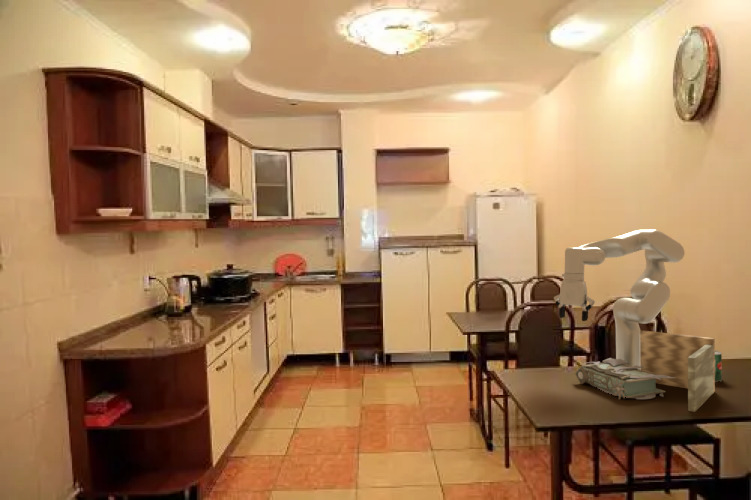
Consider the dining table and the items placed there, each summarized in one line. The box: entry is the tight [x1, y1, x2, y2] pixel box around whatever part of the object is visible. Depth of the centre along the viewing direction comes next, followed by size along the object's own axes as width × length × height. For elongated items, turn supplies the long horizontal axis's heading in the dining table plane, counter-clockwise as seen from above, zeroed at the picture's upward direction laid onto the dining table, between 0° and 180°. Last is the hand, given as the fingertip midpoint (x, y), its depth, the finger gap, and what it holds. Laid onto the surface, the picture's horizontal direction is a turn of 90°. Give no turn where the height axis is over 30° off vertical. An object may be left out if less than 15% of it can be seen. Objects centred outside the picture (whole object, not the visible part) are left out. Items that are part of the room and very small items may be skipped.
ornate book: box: [574, 357, 674, 400], centre depth 198 cm, size 23×10×30 cm
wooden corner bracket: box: [640, 330, 716, 413], centre depth 190 cm, size 25×28×20 cm
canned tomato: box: [715, 350, 723, 383], centre depth 207 cm, size 8×8×11 cm
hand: (573, 319), depth 212 cm, fingers open, 9 cm apart
